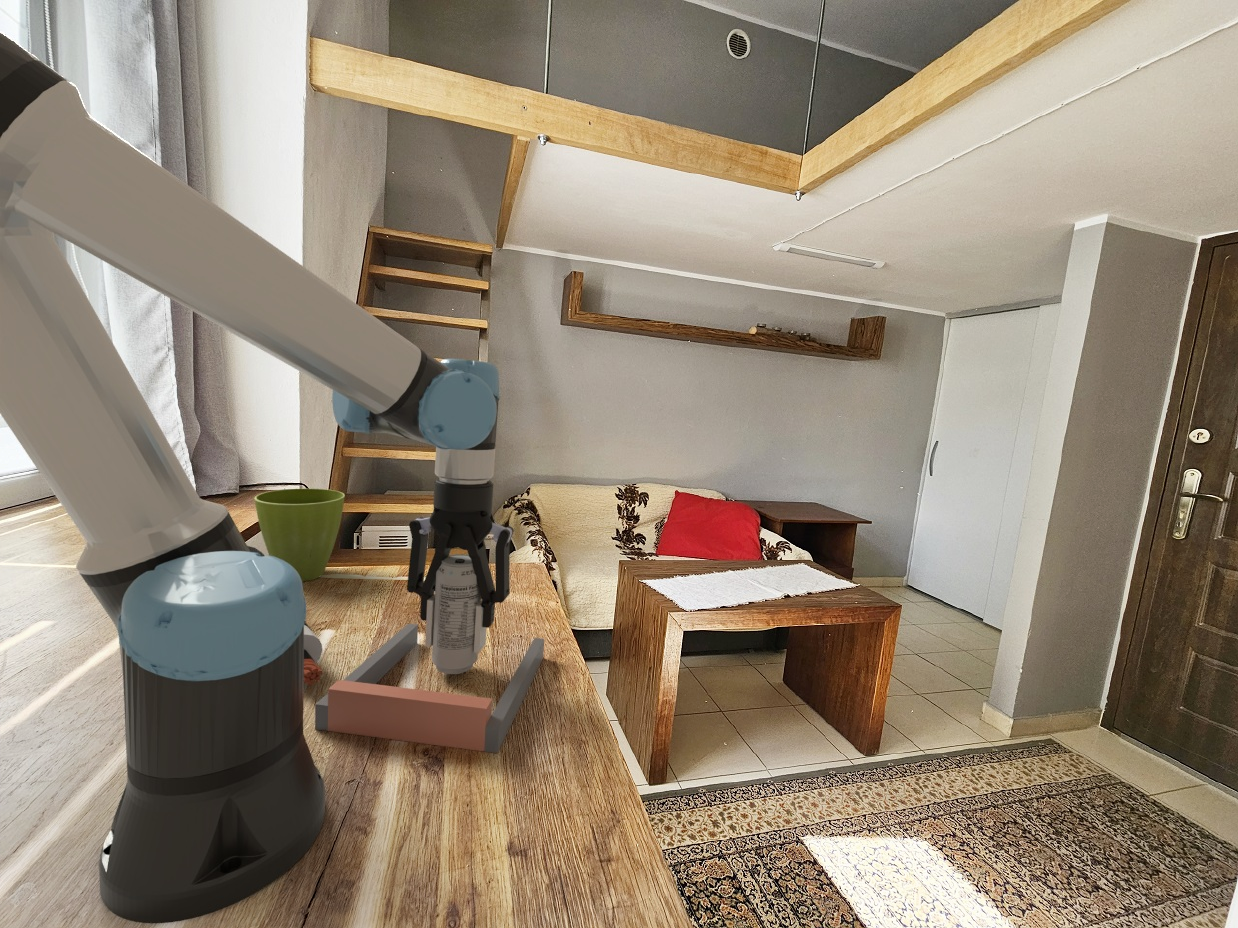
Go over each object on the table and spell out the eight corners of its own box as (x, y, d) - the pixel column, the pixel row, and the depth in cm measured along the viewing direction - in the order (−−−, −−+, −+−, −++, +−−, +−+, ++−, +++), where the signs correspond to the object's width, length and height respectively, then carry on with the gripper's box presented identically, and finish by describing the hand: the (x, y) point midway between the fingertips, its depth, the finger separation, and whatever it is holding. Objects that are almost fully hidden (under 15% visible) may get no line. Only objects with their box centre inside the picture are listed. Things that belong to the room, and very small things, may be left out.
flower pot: (307, 594, 97) (308, 507, 95) (234, 583, 100) (233, 498, 98) (359, 569, 112) (361, 493, 110) (295, 560, 114) (295, 485, 112)
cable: (291, 731, 67) (249, 680, 62) (216, 615, 88) (180, 569, 83) (367, 673, 73) (334, 621, 68) (279, 578, 94) (249, 533, 89)
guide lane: (497, 753, 59) (499, 710, 59) (315, 728, 61) (315, 687, 60) (543, 657, 81) (545, 626, 80) (407, 642, 83) (408, 610, 82)
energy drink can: (478, 654, 78) (484, 553, 76) (475, 675, 72) (481, 567, 70) (435, 654, 77) (440, 552, 75) (428, 676, 71) (433, 565, 69)
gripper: (541, 481, 75) (530, 641, 77) (408, 468, 76) (401, 626, 79) (528, 490, 67) (516, 666, 70) (380, 475, 68) (374, 649, 71)
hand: (455, 644), depth 74 cm, fingers closed on energy drink can, 6 cm apart
